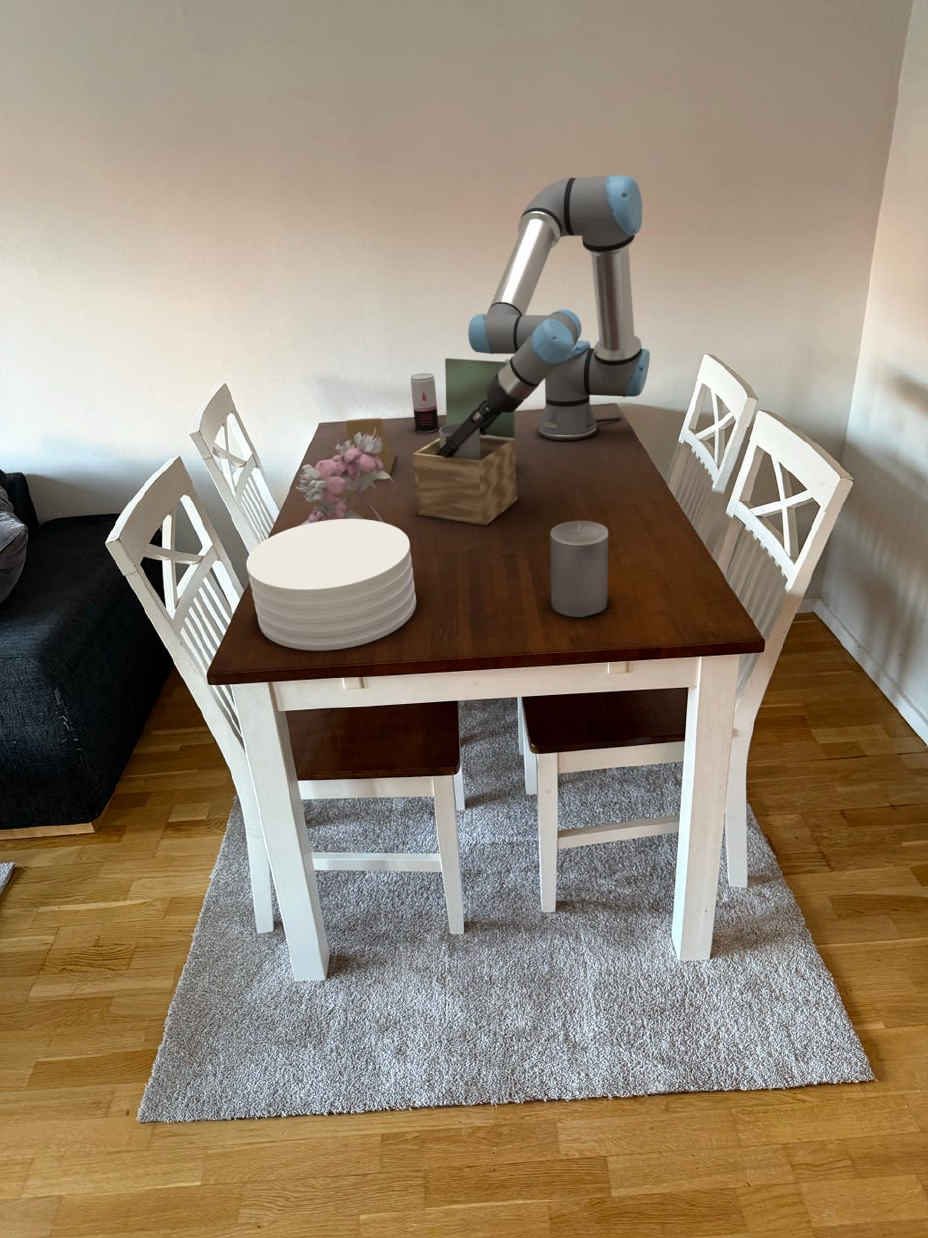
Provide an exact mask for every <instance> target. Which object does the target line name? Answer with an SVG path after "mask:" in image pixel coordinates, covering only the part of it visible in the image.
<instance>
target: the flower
mask: <svg viewBox="0 0 928 1238" xmlns="http://www.w3.org/2000/svg"><path fill="white" fill-rule="evenodd" d="M375 431H376V428H374V434H375ZM374 434H373V436H371V437H370V435H369V436H368V434H366V433H365V435H364V436H363V438H362V437H361V433H360V432H359V433H357V434H356V435H355V436H354V441H355V442H356V444H357V447H356V448H354V444H353V445H352V447H351V439H350V440H349V439H348V440H347V441H345V442H344V443H342V446H341V444H340V443H339V442H338V443H337V444H336V446H335V448H334V449H335V451H336V452H337V453H338V454H335V455H333V457H332V458H328V459H322V460H320V461H318V462H317V463H316V465H315V467H313V466H312V465H311V464H309V463H308V464H304V465H303V466H302V467H301V469H302V470H303V471H301V474H299V475H298V477H300V478H296V480H297V481H299V482H300V485H298V486H295V489H297V490H298V492H303V493H305V495H304V496H303V497H304V499H305V501H307V502H309V503H316V501H317V500H318V501H319V502H318V505H313V510H311V513H310V514H309V516H308V518H307V520H305V521H304V522H302V523H301V524H300V525H299V526H301V525H305V524H309V523H314V522H320V521H327V520H336V519H365V518H364V517H363V516H361V515H360V514H359V513H357V512H356V511H355V510H353V509H350V510H348V511H347V505H346V504H347V502H350V500H348V499H344V500H341V498H340V497H335V495H342V494H343V493H344V492H345V491H346V490H348V491H353V492H355V493H356V495H357V496H358V497H359V498H360V499H361V500H362V502H363V503H364V504H365V505H366V507H367V508H368V510H369V511H370V512H371V514H372V515H373V516H374V517H375V519H376V521H379V522H383V523H385V521H384V519H382V517H381V516H380V515H379V513H378V512H377V510H376V509H375V508H374V507H373V506H372V504H371V502H370V501H369V499H368V497H367V496H366V494H365V493H364V491H365V490H367V488H369V487H370V486H371V487H372V488H373V489H375V490H376V489H377V487H376V485H375V483H374V482H375V481H379V480H380V481H381V480H382V481H383V480H389V481H390V482H394V480H393V479H392V477H391V475H390V474H389V475H388V474H387V473H385V472H384V471H382V470H383V464H382V462H381V460H380V459H379V457H377V456H375V455H373V454H374V453H380V452H381V450H382V446H383V444H382V443H381V442H382V441H380V439H381V438H379V439H377V437H378V435H377V437H376V438H375V439H374ZM373 439H374V440H373ZM376 440H377V441H378V442H377V441H376ZM375 466H377V467H376V471H374V472H371V473H369V474H366V475H364V476H361V473H364V471H365V472H370V471H372V470H374V468H375ZM332 474H334V475H336V476H331V475H332Z"/></svg>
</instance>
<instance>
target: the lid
mask: <svg viewBox="0 0 928 1238" xmlns="http://www.w3.org/2000/svg"><path fill="white" fill-rule="evenodd" d="M444 365H445V366H444V367H445V368H444V369H445V370H444V371H445V372H444V373H445V417H446V418H445V419H446V420H445V423H446V425H449V424H453V423H463V422H464V421H465V420H466V419H467V418H468V417H469V416H470V415H471V414H472V412H473V411H474V410H475V409H477V408H478V407H479V405H480V404H481V403H482V402H483V401H484V400H487V399H488V397H487V395H486V386H487V385H488V383H489V382H490V381H491V380H492V379H493V378H494V377H495V375H497V374H498V373H499V371H500V370H501V369H502V368H503V367H504V366H505V365H506V364H505V363H504V361H502V360H501V361H499V360H485V359H484V360H483V359H467V358H452V357H451V358H450V357H447V358H444ZM516 411H517V409H516V410H515V411H514V412H512V413H505V412H503V413H501V414H500V415H499V416H498V418H497V419H496V420H495V421H494V422H493V423H492V425H491V426H490V427H489V428H488V429H485V431H486V432H487V434H485V435H487V436H497V437H506V438H514V439H515V438H516V417H517V416H516ZM481 435H482V434H481V433H480V436H481Z"/></svg>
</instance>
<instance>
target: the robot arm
mask: <svg viewBox="0 0 928 1238" xmlns="http://www.w3.org/2000/svg"><path fill="white" fill-rule="evenodd" d="M642 212H643V200H642V195H641V191H640V188H639V185H638V183H637V181H636V180H635V179H634V178H633V177H632V176H630V175H617V174H610V175H603V176H602V175H600V176H599V175H598V176H583V177H582V176H581V177H564V178H560V179H558V180H556V181H554V182H552V183H550V184H549V185H547V186H546V187H544V188H543V189H542V190H540V191H539V192H538V193H537V194H536V196H534V197H533V198H532V200H531V201H530V202H529V203H528V204H527V206H526V207H525V209H524V210H523V212H522V214H521V216H520V218H519V222H518V225H517V232H518V235H517V239H516V242H515V244H514V246H513V249H512V251H511V254H510V256H509V259H508V262H507V264H506V266H505V269H504V271H503V274H502V277H501V278H500V280H499V283H498V286H497V289H496V290H495V293H494V296H493V299H492V301H491V303H490V306H489V308H488V310H487V313H486V314H485V313H481V314H476V315H474V316H473V317H471V319H470V320H469V324H468V330H467V331H468V332H467V334H468V336H467V337H468V343H469V345H470V348H471V349H472V350H473V351H474V352H475V353H481V354H489V355H512V356H511V357H510V359H509V358H506V359H504V361H503V362H504V363H505V364H506V365H505V366H504V367H503V368H502V369H501V370H500V371H499V373H498V374H497V375H495V377H494V378H493V379H492V380H491V381H490V382H489V383H488V385H487V386H486V395H487V397H488V399H487V400H484V401H483V402H482V403H481V404H480V405H479V407H478V408H477V409H475V410H474V411H473V412H472V414H471V415H470V416H469V417H468V418H467V419H466V420H465V421H464V422H463V423H462V424H461V425H460V427H459V428H458V429H457V430H456V431H455V432H454V433H453V434H452V435H451V436H450V437H449V436H447V437H446V441H445V442H446V444H445V445H444V446H443V447H442V448H441V449H440V450H439V451H438V452H437V454H436V455H438V456H444V457H452V456H453V455H454V454H455V453H456V452H457V451H458V449H459V447H460V446H461V445H462V444H463V443H464V442H465V441H466V440H467V439H468V438H469V437H470V436H471V435H472V434H473V433H474V432H475V431H476V430H477V429H478V428H479V432H480V433H481V434H482V435H483V436H484V435H485V434H487V432H486V431H485V429H488V428H489V427H490V426H491V425H492V423H493V422H494V421H495V420H496V419H497V418H498V416H499V415H500V414H501V413H503V412H505V413H512V412H514V411H515V410H516V411H517V409H518V408H519V407H520V406H521V405H522V404H523V403H524V402H525V400H526V399H528V398H529V397H530V396H531V395H532V394H533V393H534V391H536V389H538V388H539V386H540V385H541V383H542V382H543V381H544V391H545V392H544V394H545V396H544V397H545V405H544V409H543V413H542V416H541V419H540V422H539V427H538V428H539V432H538V433H539V436H540V437H542V438H544V439H547V440H551V441H559V442H572V441H580V440H585V439H589V438H590V437H592V436H594V435H596V433H597V431H598V430H597V427H598V425H597V424H598V423H606V422H616V421H620V420H622V417H621V416H615V417H608V418H597V419H596V417H595V414H594V412H593V409H592V406H591V397H590V396H599V397H600V396H601V397H602V396H603V397H622V398H626V397H627V398H628V397H630V398H635V397H638V396H640V395H641V394H642V393H643V390H644V388H645V385H646V382H647V378H648V372H649V366H650V359H651V358H650V357H651V353H650V349H646V348H642V341H641V339H640V338H639V337H638V336H637V335H635V324H634V323H635V322H634V309H633V308H634V307H633V291H632V279H631V278H632V277H631V261H630V247H629V246H630V245H631V244H632V243H633V242H634V240H635V239H636V238H635V237H636V235H637V234H638V233H639V232H640V231H641V227H642V225H643V224H642V223H643V213H642ZM563 237H581V243H582V247H583V249H585V250H586V251H588V252H589V253H590V262H591V272H592V283H593V291H594V293H593V294H594V301H595V302H594V303H595V312H596V313H595V314H596V322H597V333H598V340H597V341H596V343H595V345H594V346H593V347H591V343H590V341H588V340H579V339H580V338H581V335H582V328H583V327H582V323H581V321H580V318H579V317H578V315H576V313H575V312H573V311H572V310H569V309H564V308H563V309H559V310H556V311H553V312H552V313H550V314H549V315H546V314H545V315H543V314H541V315H540V314H537V315H536V314H534V315H533V314H527V312H528V309H529V306H530V304H531V301H532V298H533V296H534V293H535V291H536V289H537V286H538V283H539V281H540V277H541V275H542V272H543V270H544V267H545V265H546V262H547V260H548V257H549V254H550V252H551V250H552V249H553V248H554V247H556V246H557V245H558V244H559V241H560V240H561V238H563Z"/></svg>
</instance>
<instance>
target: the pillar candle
mask: <svg viewBox="0 0 928 1238" xmlns="http://www.w3.org/2000/svg"><path fill="white" fill-rule="evenodd" d="M549 536H550V603H551V608H552V609H553V610H554V611H555V612H556V613H558V614H561V615H563V616H567V617H571V618H585V617H588V616H592V615H596V614H598V613H601V612H604V610H605V609H606V608H607V606H608V589H609V585H608V584H609V578H608V577H609V567H608V566H609V529H608V528H607V527H606V526H605V525H603V524H601V523H598V522H595V521H590V520H573V521H566V522H561V523H560V524H557V525H555V526H554V527H553V528H552V529H550V534H549Z"/></svg>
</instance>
